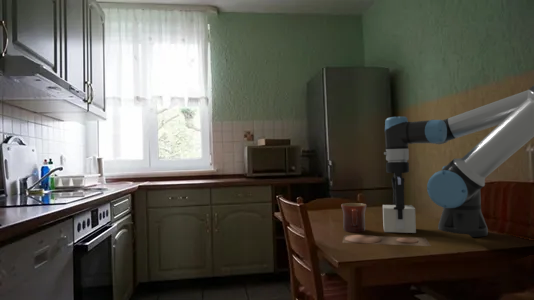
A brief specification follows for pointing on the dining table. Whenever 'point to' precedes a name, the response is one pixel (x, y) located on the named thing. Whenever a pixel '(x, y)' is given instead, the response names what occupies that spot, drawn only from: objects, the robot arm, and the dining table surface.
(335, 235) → the dining table surface
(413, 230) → the white rectangular block
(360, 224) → the mug
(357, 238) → the board
